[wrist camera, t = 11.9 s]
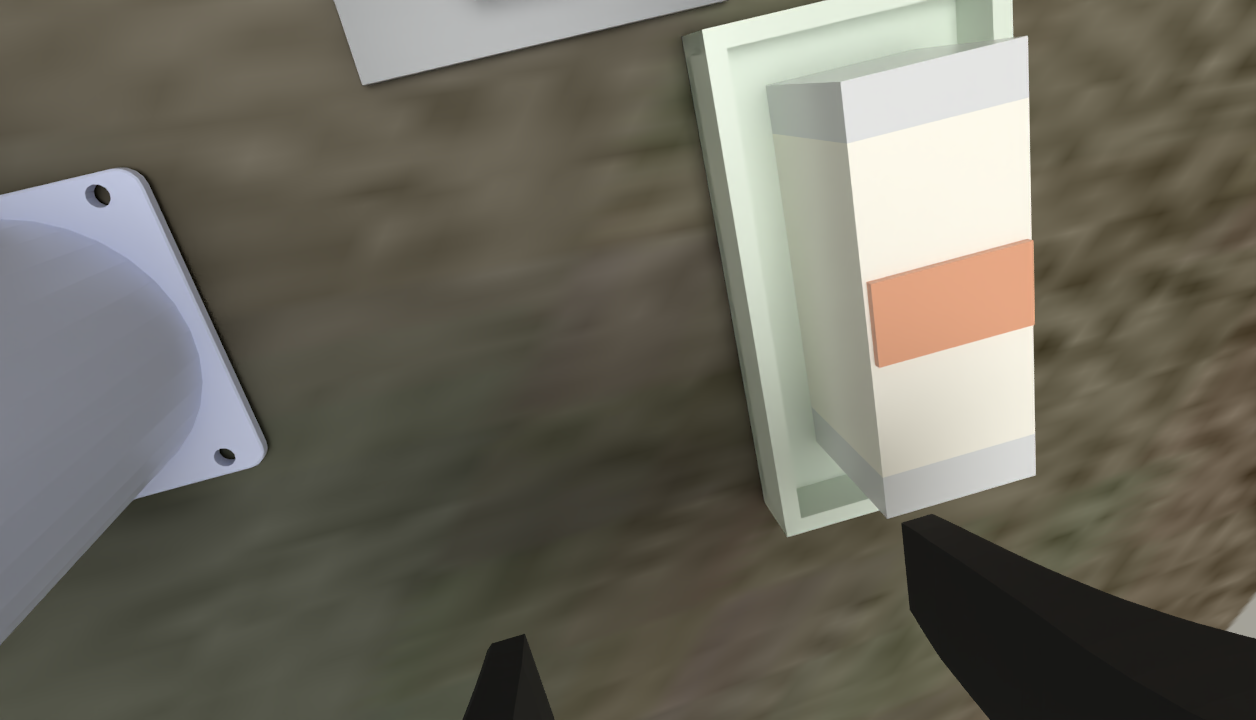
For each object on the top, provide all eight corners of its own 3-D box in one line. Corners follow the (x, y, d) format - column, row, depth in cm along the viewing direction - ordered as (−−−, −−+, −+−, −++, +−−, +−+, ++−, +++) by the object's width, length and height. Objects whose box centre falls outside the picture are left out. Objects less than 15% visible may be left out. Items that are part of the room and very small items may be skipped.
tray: (764, 502, 23) (787, 537, 21) (681, 36, 18) (702, 29, 16) (982, 439, 24) (1023, 468, 22) (960, -30, 19) (1011, -44, 17)
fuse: (816, 441, 22) (891, 523, 18) (765, 85, 18) (844, 81, 14) (938, 407, 23) (1041, 478, 18) (913, 48, 19) (1034, 35, 15)
